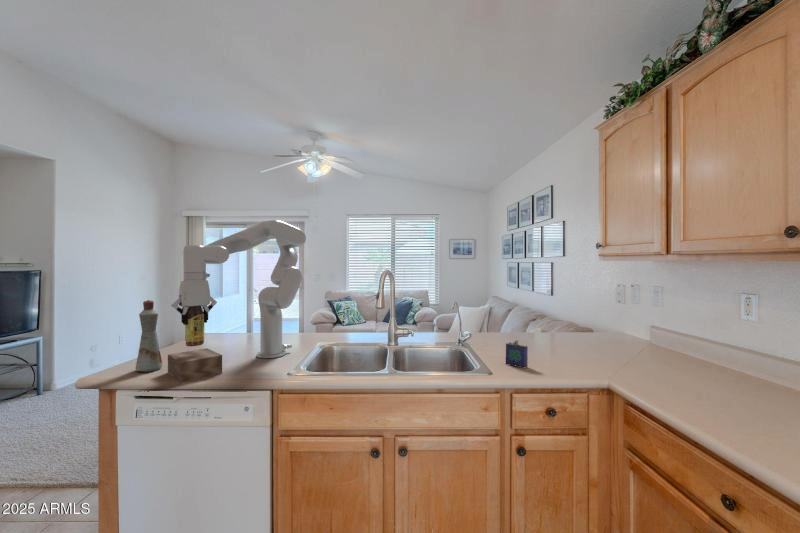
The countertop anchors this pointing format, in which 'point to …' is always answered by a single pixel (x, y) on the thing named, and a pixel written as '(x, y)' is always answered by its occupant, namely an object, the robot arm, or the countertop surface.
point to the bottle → (148, 340)
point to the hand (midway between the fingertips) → (195, 322)
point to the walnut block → (194, 364)
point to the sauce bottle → (195, 326)
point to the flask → (516, 354)
